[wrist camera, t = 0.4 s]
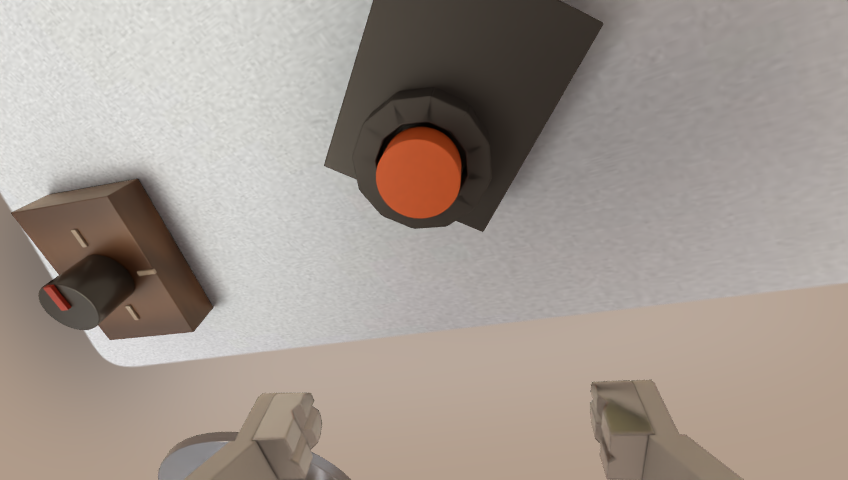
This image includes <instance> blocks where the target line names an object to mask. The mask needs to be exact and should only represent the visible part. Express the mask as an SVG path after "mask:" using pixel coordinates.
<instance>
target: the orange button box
mask: <svg viewBox="0 0 848 480" xmlns="http://www.w3.org/2000/svg"><path fill="white" fill-rule="evenodd" d="M602 26H603V22H601V21H599V20H597V19H595V18H593V17H591V16H589V15H588V14H586V13H584V12H582V11H580V10H578V9H576V8H574V7H572V6H570V5H568V4H566V3H564V2H562V1H560V0H373V3H372V6H371V10H370V13H369V16H368V20H367V23H366V26H365V30H364V33H363V36H362V40H361V43H360V47H359V50H358V53H357V57H356V60H355V63H354V67H353V70H352V73H351V77H350V80H349V83H348V87H347V90H346V93H345V97H344V100H343V103H342V107H341V110H340V113H339V117H338V120H337V124H336V127H335V130H334V134H333V137H332V140H331V144H330V147H329V150H328V154H327V157H326V160H325V164H324V166H326V167H328V168H331V169H333V170H335V171H338V172H340V173H343V174H345V175H347V176H350V177H352V178H355V179H357V182H358V186H359V190H360V191H361V192H362V194H363V195H364V196H365V197H366V198H367V199H368V200H369V202H370V203H371V204H372V205H373V206H374V207H375V208H376V209H377V211H378V212H379V213H380V214H381V215H383V216H384V217H386V218H389V219H391V220H394V221H396V222H398V223H401V224H403V225H406V226H408V227H411V228H414V229H416V228H431V227H445V226H448V225H450V224H451V223H453V222H454V221H458V222H460V223H463V224H465V225H468V226H470V227H472V228H475V229H477V230H480V231H482V232H483V231H484V230H485V228H486V226H487V224H488V223H489V221H490V219H491V218H492V216H493V214H494V212H495V211H496V209H497V207H498V205H499V204H500V202H501V200H502V199H503V197H504V195H505V193H506V192H507V190H508V188H509V186H510V185H511V183H512V181H513V180H514V178H515V176H516V174H517V173H518V171H519V169H520V167H521V166H522V164H523V162H524V160H525V159H526V157H527V155H528V154H529V152H530V150H531V148H532V147H533V145H534V143H535V141H536V140H537V138H538V136H539V135H540V133H541V131H542V129H543V128H544V126H545V124H546V122H547V121H548V119H549V117H550V115H551V114H552V112H553V110H554V109H555V107H556V105H557V103H558V102H559V100H560V98H561V96H562V95H563V93H564V91H565V90H566V88H567V86H568V84H569V83H570V81H571V79H572V77H573V76H574V74H575V72H576V71H577V69H578V67H579V65H580V64H581V62H582V60H583V58H584V57H585V55H586V53H587V51H588V50H589V48H590V46H591V45H592V43H593V41H594V39H595V38H596V36H597V34H598V32H599V31H600V29H601V27H602ZM412 127H429V128H433V129H436V130H438V131H440V132H442V133H444V134H445V135H447V136H448V137H449V138H450V139H451V140H452V141H453V143H454V144H455V145H456V147H457V149H458V151H459V154H460V157H461V183H460V189H459V193H458V195H457V197H456V199H455V201H454V202H453V203H452V205H451V206H450V207H449V208H448V209H446V210H445V211H444V212H442V213H440V214H438V215H436V216H433V217H429V218H411V217H407V216H404V215H402V214H400V213H398V212H396V211H395V210H393V209H392V208H391V207H389V206H388V205H387V204H386V202H385V201H384V200H383V198H382V197H381V195H380V193H379V191H378V188H377V183H376V170H377V166H378V163H379V161H380V159H381V157H382V155H383V153H384V151H385V149H386V148H387V146H388V144H389V143H390V141H391V140H392V139H393V138H394V137H395V136H396V135H397V134H399V133H400V132H402V131H404V130H406V129H409V128H412Z"/></svg>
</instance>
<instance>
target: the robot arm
mask: <svg viewBox="0 0 848 480" xmlns="http://www.w3.org/2000/svg"><path fill="white" fill-rule="evenodd" d="M591 395H592V398H593V400H592V401H591V402H590V415H591V423H592V428H593V432H594V436H595V439H596V440H597V441H598V442H599V443H600V457H601V461H602V464H603V468H604V471H605V474H606V478H607V479H612V480H744V479H742V478H741V477H740V476H739V475H737V474H736V473H734V472H733V471H732V470H731V469H730V468H728V467H727V466H726V465H724V464H723V463H722V462H721V461H719V460H718V459H717V458H715V457H714V456H713V455H712V454H710V453H709V452H707V451H706V450H705V449H704V448H703V447H701V446H700V445H699V444H697V443H696V442H695V441H694V440H692V439H691V438H690V437H688V436H687V435H682V434H679V432H678V430H677V428H676V426H675V424H674V422H673V420H672V418H671V416H670V414H669V412H668V410H667V408H666V405H665V404H664V401H663V400H662V397H661V396H660V393H659V391H658V389H657V387H656V385H655V383H654V382H653V381H652V380H632V381H630V380H624V381H603V382H592V384H591ZM313 402H314V399H313V396H312V395H311V393H263V394H261V395H260V396H259V397H258V398H257V400H256V402H255V404H254V406H253V408H252V409H251V411H250V413H249V415H248V417H247V419H246V421H245V423H244V424H243V426H242V428H241V430H240V432H239V433H238V435H237V437H236V439H235V441H230V442H228V443H227V444H226V445H225V446H224V447H222V448H221V449H220V450H219V451H218V452H216V453H215V454H214V455H213V456H211V457H210V458H209V459H208V460H207V461H205V462H204V463H203V464H202V465H200V466H199V467H198V468H197V469H196V470H194V471H193V472H192V473H191V474H190V475H188V476H187V477H186V478H185V479H183V480H283V479H306V476H307V473H308V470H309V467H310V464H311V461H312V459H313V455H312V452H311V449H312V448H313V447H314V446H315V445H316V444H317V443H318V441H319V438H320V435H321V428H322V420H321V415H320V413H319V410H318V409H316V408H315V407H313V406H312V405H313Z"/></svg>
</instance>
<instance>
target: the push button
mask: <svg viewBox="0 0 848 480" xmlns="http://www.w3.org/2000/svg"><path fill="white" fill-rule="evenodd" d="M376 183H377V188H378V191H379V193H380V195H381V197H382V198H383V200H384V201H385V202H386V204H387V205H388V206H389V207H391V208H392V209H393V210H395V211H396V212H398V213H400V214H402V215H404V216H407V217H411V218H429V217H433V216H436V215H438V214H440V213H442V212H444V211H445V210H446V209H448V208H449V207H450V206H451V205H452V203H453V202H454V201H455V199H456V197H457V195H458V193H459V189H460V183H461V157H460V154H459V151H458V149H457V147H456V145H455V144H454V143H453V141H452V140H451V139H450V138H449V137H448V136H447V135H445V134H444V133H442V132H440V131H438V130H436V129H433V128H429V127H412V128H409V129H406V130H404V131H402V132H400V133H399V134H397V135H396V136H395V137H394V138H393V139H392V140H391V141H390V143H389V144H388V146H387V148H386V149H385V151H384V153H383V155H382V157H381V159H380V161H379V163H378V166H377V170H376Z"/></svg>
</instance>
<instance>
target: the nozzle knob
mask: <svg viewBox="0 0 848 480" xmlns="http://www.w3.org/2000/svg"><path fill="white" fill-rule="evenodd" d="M134 288H135V285H134V281H133V278H132V276H131V275H130V273H129V272H128V271H127V270H126V269H125V268H124V267H123V266H122V265H121V264H119V263H118V262H116V261H115V260H113V259H111V258H108V257H105V256H101V255H90V256H87V257H85V258H83V259H82V260H80V261H79V262H78V263H76V264H75V265H73V266H72V267H70V268H69V269H67V270H66V271H65V272H63V273H62V274H60V275H59V276H57V277H56V278H55V279H53V280H52V281H50V282H49V283H47V284H46V285H44V286H43V287H42V288H41V289H40V291H39V300H40V303H41V305H42V307H43V308H44V309H45V311H46V312H47V313H48V314H49V315H50V316H51V317H53V318H54V319H55V320H57V321H58V322H60V323H62V324H63V325H66V326H68V327H71V328H74V329H79V330H89V329H92V328H95V327H96V326H97V325H98V324H100V323H101V322H102V321H103V320H104V319H105V318H106V317H107V316H108V315H110V314H111V313H112V312H113V311H114V310H115V309H116V308H117V307H118V306H120V305H121V304H122V303H123V302H124V301H125V300H126V299H127V298H128V297H130V296H131V295H132V293H133V292H134Z"/></svg>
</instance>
